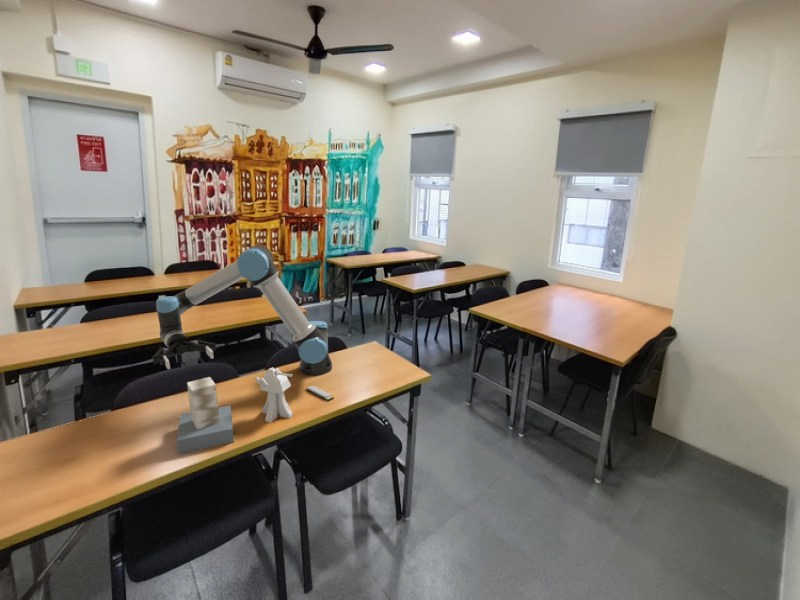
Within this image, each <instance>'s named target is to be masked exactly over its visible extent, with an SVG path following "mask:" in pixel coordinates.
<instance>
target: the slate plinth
mask: <svg viewBox="0 0 800 600" xmlns="http://www.w3.org/2000/svg"><path fill="white" fill-rule="evenodd" d="M218 410H219V419H220V422H219V423H216V424H213V425H210V426H207V427H204V428H201V429H198V430H197V429H196V427H195V425H194V423H193V421H192V417H191V412H188V413H187V412H186V413H181V414H180V415H179V423H178V429H177V434H176V447H177V452H178V455H181V454H186V453H190V452H195V451H199V450H204V449H208V448H212V447H218V446H222V445H226V444H233V443H234V442H235V440H234V429H233V428H234V425H233V418H232V416H233V414H232V408H231V405H226V406H220V407H219V406H218Z"/></svg>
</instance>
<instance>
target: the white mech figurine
mask: <svg viewBox="0 0 800 600" xmlns="http://www.w3.org/2000/svg"><path fill="white" fill-rule="evenodd" d="M288 377H289V378H293V373H284V372H282V371H280V369H279V368H278V367H276V368H274V367H273V366H272V367H270V368H268V369H267V370H266V371H265V373H264V375H263V376H262V377H259V376H256V377H254V380H255V382H257V384H258V385H260V386H259V390H260V391H263V392H267V397H266V402H265V403H264V406H263V408H262V409H261V413H263V414H266V416H265V419H264V420H265V422H266V423H272V422H273V421H274V420H276V419H277V417H278V418H279V417H283V418H286V419H290V418H292V417H293V416H294V414H293V412H292V410H291V408H290V406H289V403H288V402H287V400H286V396H285V391H287V390H288V389H290V387H291V386H292V384H291V382H290V380H289V379H288Z"/></svg>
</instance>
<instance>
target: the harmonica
mask: <svg viewBox="0 0 800 600" xmlns="http://www.w3.org/2000/svg"><path fill="white" fill-rule="evenodd" d="M305 390H306V391H307V392H309V393H311V394H313V395H315V396H317V397H318V396H319V398H321V399H322V400H324V401H326V400H327V401H326V402H330V401H333V400H334V399H335V398H334V396H332V395H331V393H329V392H328V391H325V390H323V389H321V388H320V387H317V386H315V385H310V386H307V387H306V388H305Z"/></svg>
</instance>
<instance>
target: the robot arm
mask: <svg viewBox="0 0 800 600" xmlns="http://www.w3.org/2000/svg"><path fill="white" fill-rule="evenodd" d="M279 272H280V270H279V269H278V267H277V266H276V264H274V255H273V253H272V251H271V250H270V249H269V248H268V247H266V246H264V245H258V244H257V245H253V246H252V245H251V246H250V247H249V248H247V249H245V250H243V252H241V253H240V255H239V256H238V257H237V259H236V261H234V262H232V263H230V264H228V265H226V266H225V267H223V268H221V269H220V270H218V271H216V272H215V273H213V274H211V275H209V276H207V277H205V278H204V279H202V280H201V281H199V282H197V283H195V284H193V285H192V286H190V287H188V288H186V289H185V290H183V291H181V292H179V293H177V294H175V295H173V296H171V295H169V296H163V297H158V298H157V299H156V302H155V303H156V304H155V305H156V308H155V309H156V312H157V319H158V322H159V336H160V337H159V338H160V340H161V341H162V342H163V343H164V345H165V346H166V347H167V348H166V347H163V346H159V349H158V350H157V352H156V353H154V355H153V356H152V357H151V358H152V362H153V363H152V364H153V365H157V364H158V363H159V364H160V365H159V366H163V365H165V367H166V369H167V370H170V369H171V365H170V364H171V363H170V360H169V359H171V358H172V357H176V356H179V355H183V354H186V353H194V352H201V353H202V352H203V353H206V355H207V356H208V357H209V358H210V360H212V359H214V358H215V357H214V353H215V352H214V351H216V350H217V346H216V343H215V342H210V341H206V340H202V339H199V338H198V339H196V341H195V342H193V341H191V340H190V339H189V337H188V336H187V335H186V334H185V332H184V331H183V326H182V318H181V315H183V314H184V313H185V312H187V311H188V310H190V309H192V308H193V307H195V306H197V305H198V304H200V303H202V302H203V301H206V300H207V299H208V298H211V297H212V296H214V295H216V294H218V293H220V292H221V291H223V290H225V289H226V288H229V287H230V286H232V285H234V284H235V283H237V282H239V281H241V280H242V279H245V280H248V281H249V282H250V284H251V285H252V286H253V288H257V289H260V292H262V294H263V295H264V297H265V298H266V300H267V301H268V302H269V303H270V305H271V306H272V308H273V310H274V311H275V312H276V314H277V315H278V316H279V318H280V319H281V321H282V322H283V324H284V325H285V326H286V328H287V329H288V331H289V332H290V333H291V335H292V337H291V338H292V339H291V342H292V343H293V344H294V345H295V347H296V348H297V350H298V355H299V358H300V359H301V360H300V362H299V372H300V373H301V372H302V373H301V374H303V375H306V376H319V375H320V374H321V375H324V373H325V374H327V373H329V372H331V371H332V369H333V362H332V360H331V357H330V354H329V343H328V342H329V339H328V335H329V334H328V328H329V327H328V323H327V322H325V321H324V320H322V321H321V320H310V321H309V320H308V319H307V317H306V315H305V314H304V312H303V311H302V310H301V308H300V306H299V305H298V304H297V303H296V301H295V299H294V298H293V297H292V295H291V294H290V292H289V290H288V289H287V288H286V286H285V285H284V283H283V282H282V280H281V279H280V277H279ZM326 372H327V373H326ZM321 375H320V376H321Z"/></svg>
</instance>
